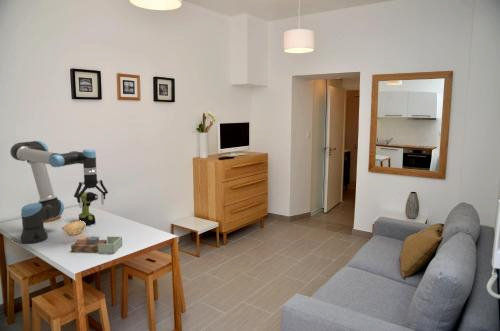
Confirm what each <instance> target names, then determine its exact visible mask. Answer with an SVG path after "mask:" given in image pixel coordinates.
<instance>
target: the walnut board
mask: <svg viewBox="0 0 500 331" xmlns="http://www.w3.org/2000/svg"><path fill="white" fill-rule="evenodd" d="M98 244H108V243H107V239H99V242H98V243H96V244H87V243H86V244H77V241H76V242H74V243H73V244H72V245H71V246H70V249H71V253H88V254H89V253H93V254H94V253H95V254H97V253H98ZM98 254H99V253H98Z"/></svg>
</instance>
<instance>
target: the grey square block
mask: <svg viewBox="0 0 500 331" xmlns="http://www.w3.org/2000/svg"><path fill="white" fill-rule="evenodd" d="M99 240H100V237H99V236H90V237H89V238H88V239H87V244H96V243H98V242H99Z"/></svg>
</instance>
